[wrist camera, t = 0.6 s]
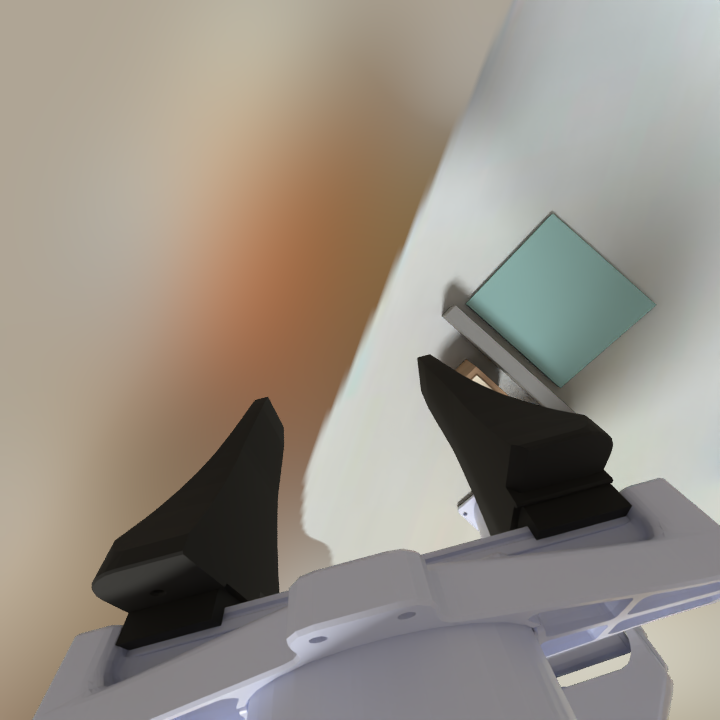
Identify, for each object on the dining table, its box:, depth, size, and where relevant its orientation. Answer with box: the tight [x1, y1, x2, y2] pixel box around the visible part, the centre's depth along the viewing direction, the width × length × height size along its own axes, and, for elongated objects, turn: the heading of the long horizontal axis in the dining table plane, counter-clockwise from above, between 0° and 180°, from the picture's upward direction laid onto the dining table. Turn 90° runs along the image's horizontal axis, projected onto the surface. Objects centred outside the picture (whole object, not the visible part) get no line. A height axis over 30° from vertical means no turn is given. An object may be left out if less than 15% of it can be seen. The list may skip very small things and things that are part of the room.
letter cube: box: [455, 359, 508, 396], centre depth 31 cm, size 5×5×5 cm
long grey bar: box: [442, 305, 575, 413], centre depth 31 cm, size 18×2×3 cm, turn 49°
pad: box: [466, 214, 656, 388], centre depth 30 cm, size 14×12×1 cm
